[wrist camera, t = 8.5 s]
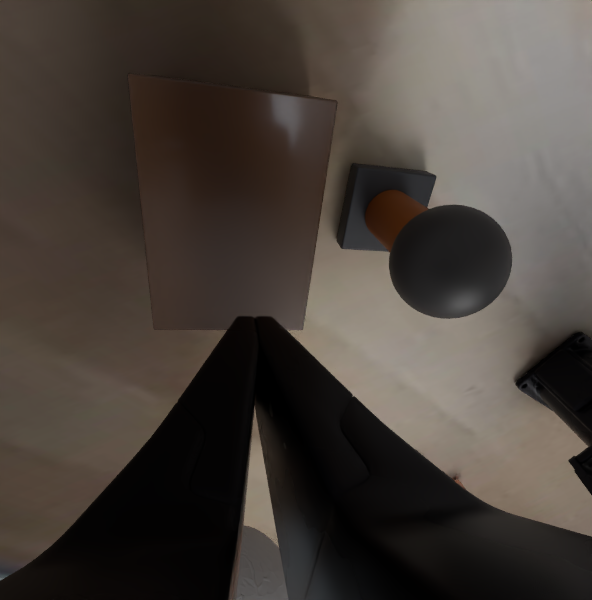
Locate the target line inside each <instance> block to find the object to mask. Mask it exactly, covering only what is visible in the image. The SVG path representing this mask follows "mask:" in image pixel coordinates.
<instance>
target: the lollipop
mask: <svg viewBox="0 0 592 600" xmlns="http://www.w3.org/2000/svg"><path fill="white" fill-rule="evenodd" d="M236 600H288V595H287V590H286V584H285V578H284V572H283V566H282V561H281V555H280V549H279V548H278V546H277V545H276V544H275V543H274V542H273V541H272V540H271V539H270V538H269V537H267V536H266V535H265V534H264V533H262V532H260V531H258V530H257V529H255V528H252V527H249V526H244V525H243V533H242V544H241V554H240V565H239V575H238V586H237V596H236Z"/></svg>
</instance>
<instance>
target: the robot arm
mask: <svg viewBox="0 0 592 600" xmlns="http://www.w3.org/2000/svg"><path fill="white" fill-rule="evenodd" d="M516 386H517V387H518V388H519V389H520V390H521V391H523V392H524V393H526V394H527V395H529V396H530V397H532V398H534V399H535V400H537V401H538V402H540V403H541V404H543V405H544V406H546V407H548V408H549V409H551V410H552V411H554V412H555V413H556V414H557V415H558V416H559V417H560V418H561V419H562V420H563V421H564V422H565V423H566V424H567V425H568V426H569V427H570V428H571V429H572V430H573V431H574V432H575V433H576V434H577V435H578V437H579V438H580V439H581V440H582V441H583V442H584V443H585V444H586V445H587V446H588V448H586V449H585V450H584V451H582V452H581V453H580V454H578V455H577V456H573V457H572V458H571V459H569V460H568V461H569V462H570V464H571V465H572V466H573V468H574V469H575V470H574V471H575V473H576V474H577V476H578V477H579V478H580V480H581V481H582V483H583V484H584V485H585V487H586V488H587V489H588V491H589V492H590V494H591V495H592V340H591V339H590V338H589V337H588V336H587V335H585V334H584V333H583V332H578V333H576V334H574V335H573V336H572V337H571V338H569V339H568V340H567V341H566V342H564V343H563V344H562V345H561V346H560V347H558V348H557V349H556V350H555V351H554V352H552V353H551V354H550V355H549V356H547V357H546V358H545V359H544V360H543V361H541V362H540V363H539V364H538V365H536V366H535V367H534V368H533V369H532V370H530V371H529V372H528V373H527V374H526V375H524V376H523V377H522V378H521V379H519V380H518V381H517V383H516ZM352 396H353V395H352V393H351V392H350V391H348V390H347V389H346V388H345V387H344V386H343V385H342V384H341V383H340V382H339V381H338V380H337V379H336V378H335V377H334V376H333V375H332V374H331V373H330V372H329V371H328V370H327V369H326V368H325V367H324V366H323V365H322V364H321V363H320V362H319V361H318V360H317V359H316V358H315V357H314V356H313V355H311V354H310V353H309V352H308V351H307V350H306V349H305V348H304V347H303V346H302V345H301V344H300V343H299V342H298V341H297V340H296V339H295V338H294V337H293V336H292V335H291V334H290V333H289V332H288V331H287V330H286V329H285V328H284V327H283V326H282V325H281V324H280V323H279V322H278V321H277V320H276V319H274V318H273V317H272V316H257V317H255V318H254V317H253V316H237V317H236V318H235V320H234V321H233V323H232V324H231V326H230V327H229V328H228V330H227V331H226V333H225V334H224V336H223V337H222V338H221V340H220V341H219V343H218V344H217V346H216V347H215V348H214V350H213V351H212V353H211V354H210V356H209V357H208V358H207V360H206V361H205V363H204V364H203V366H202V367H201V368H200V370H199V371H198V373H197V374H196V376H195V377H194V378H193V380H192V381H191V383H190V384H189V386H188V387H187V388H186V390H185V391H184V393H183V394H182V396H181V397H180V398H179V400H178V403H176V404H175V405H174V407H173V408H172V410H171V411H170V412H169V414H168V415H167V417H166V418H165V419H164V421H163V422H162V423H161V425H160V426H159V427H158V429H157V430H156V431H155V433H154V434H153V435H152V437H151V438H150V439H149V440H148V441H147V442H146V444H145V445H144V446H143V447H142V448H141V449H140V451H139V452H138V453H137V454H136V455H135V456H134V457H133V459H132V460H131V461H130V462H129V463H128V464H127V465H126V466H125V468H124V469H123V470H122V471H121V472H120V473H119V474H118V475H117V476H116V477H115V479H114V480H113V481H112V482H111V483H110V484H109V485H108V486H107V487H106V488H105V490H104V491H103V492H102V493H101V494H100V495H99V496H98V497H97V498H96V500H95V501H94V502H93V503H92V504H91V505H90V506H89V507H88V508H87V509H86V511H85V512H84V513H83V514H82V515H81V516H80V517H79V518H78V519H77V520H76V522H75V523H74V524H73V525H72V526H71V527H70V528H69V529H68V530H67V531H66V532H65V533H64V534H63V535H62V536H61V537H60V538H59V539H58V540H57V541H56V542H55V543H54V544H53V545H52V546H50V547H49V548H48V549H47V550H46V551H44V552H43V553H42V554H41V555H39V556H38V557H37V558H36V559H34V560H33V561H32V562H30V563H29V564H27V565H26V566H25V567H23V568H21V569H20V570H18V571H16V572H15V573H13V574H11V575H9V576H8V577H6V578H4V579H3V580H1V581H0V600H236V596H237V586H238V575H239V565H240V554H241V544H242V533H243V523H244V512H245V502H246V492H247V481H248V471H249V460H250V450H251V439H252V429H253V418H254V406H255V410H256V417H257V422H258V428H259V434H260V440H261V446H262V451H263V457H264V463H265V469H266V474H267V480H268V486H269V492H270V497H271V503H272V509H273V515H274V520H275V526H276V532H277V538H278V543H279V549H280V555H281V561H282V566H283V572H284V578H285V584H286V590H287V595H288V600H592V537H591V536H587V535H584V534H580V533H577V532H573V531H570V530H566V529H563V528H559V527H556V526H552V525H549V524H545V523H542V522H538V521H535V520H531V519H528V518H524V517H521V516H517V515H514V514H510V513H507V512H505V511H502V510H500V509H497V508H495V507H493V506H491V505H489V504H487V503H485V502H483V501H482V500H480V499H479V498H477V497H475V496H474V495H472V494H471V493H469V492H468V491H467V490H465V489H464V488H463V487H461V486H460V485H459V484H458V483H456V482H455V481H454V480H453V479H451V478H450V477H449V476H448V475H446V474H445V473H444V472H443V471H441V470H440V469H439V468H438V467H436V466H435V465H434V464H433V463H431V462H430V461H429V460H428V459H426V458H425V457H424V456H423V455H421V454H420V453H419V452H418V451H416V450H415V449H414V448H413V447H411V446H410V445H409V444H408V443H406V442H405V441H404V440H403V439H401V438H400V437H399V436H398V435H397V434H395V433H394V432H393V431H392V430H391V429H389V428H388V427H387V426H386V425H385V424H384V423H382V422H381V421H380V420H379V419H378V418H377V417H376V416H375V415H374V414H373V413H372V412H371V411H369V410H368V409H367V408H366V407H365V406H364V405H363V404H362V403H361V402H360V401H359V400H358V399H357V398H356V397H354V396H353V397H352Z"/></svg>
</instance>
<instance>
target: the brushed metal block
mask: <svg viewBox="0 0 592 600" xmlns="http://www.w3.org/2000/svg"><path fill="white" fill-rule="evenodd" d="M128 85H129V95H130V104H131V114H132V124H133V133H134V143H135V153H136V163H137V172H138V182H139V192H140V202H141V211H142V221H143V231H144V240H145V250H146V260H147V270H148V279H149V289H150V299H151V309H152V318H153V328H154V329H155V330H228V328H229V327H230V326H231V324H232V323H233V321H234V320H235V318H236V317H237V316H253V317H254V318H255V317H257V316H272V317H273V318H274V319H276V320H277V321H278V322H279V323H280V324H281V325H282V326H283V327H284V328H285V329H286V330H303V326H304V319H305V312H306V306H307V299H308V293H309V286H310V280H311V273H312V267H313V260H314V254H315V247H316V241H317V234H318V228H319V221H320V215H321V208H322V202H323V195H324V189H325V182H326V176H327V169H328V162H329V156H330V149H331V143H332V136H333V130H334V123H335V117H336V110H337V104H338V102H337V101H336V100H331V99H325V98H319V97H313V96H306V95H299V94H291V93H283V92H276V91H268V90H261V89H253V88H246V87H238V86H231V85H223V84H216V83H208V82H201V81H193V80H186V79H178V78H171V77H163V76H156V75H145V74H134V73H128Z"/></svg>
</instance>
